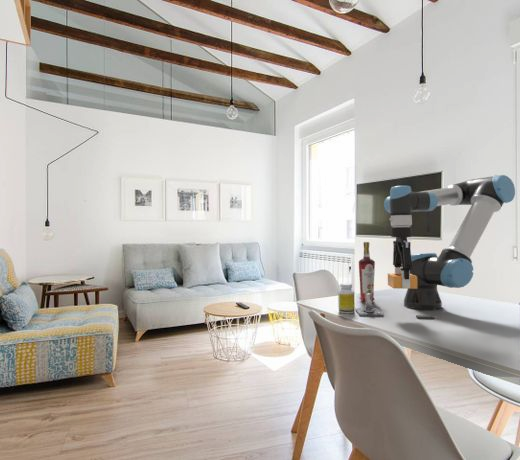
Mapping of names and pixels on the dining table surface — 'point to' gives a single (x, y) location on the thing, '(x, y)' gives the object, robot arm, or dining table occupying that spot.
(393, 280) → the square wooden frame
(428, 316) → the grey rectangular block
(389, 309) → the dining table surface
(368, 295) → the keeper
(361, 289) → the liquor
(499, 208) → the robot arm
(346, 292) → the pill bottle
